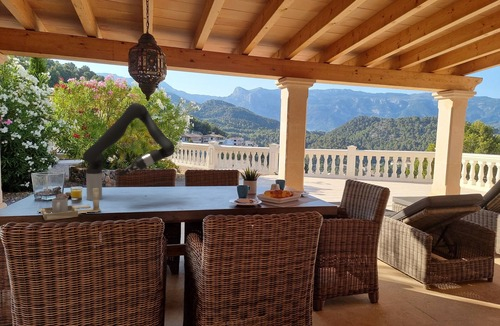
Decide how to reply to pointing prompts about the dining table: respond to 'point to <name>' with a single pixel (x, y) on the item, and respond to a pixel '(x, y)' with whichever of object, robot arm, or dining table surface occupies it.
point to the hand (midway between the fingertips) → (119, 174)
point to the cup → (59, 205)
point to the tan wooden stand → (72, 209)
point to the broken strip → (75, 207)
